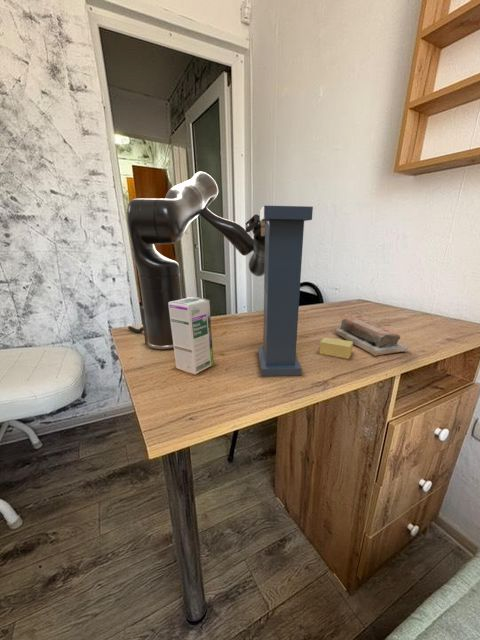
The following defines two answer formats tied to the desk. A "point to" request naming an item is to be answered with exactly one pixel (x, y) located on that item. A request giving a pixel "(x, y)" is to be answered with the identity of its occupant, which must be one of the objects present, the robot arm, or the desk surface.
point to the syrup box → (191, 334)
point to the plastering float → (370, 336)
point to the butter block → (336, 347)
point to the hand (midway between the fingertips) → (270, 209)
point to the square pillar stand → (282, 287)
